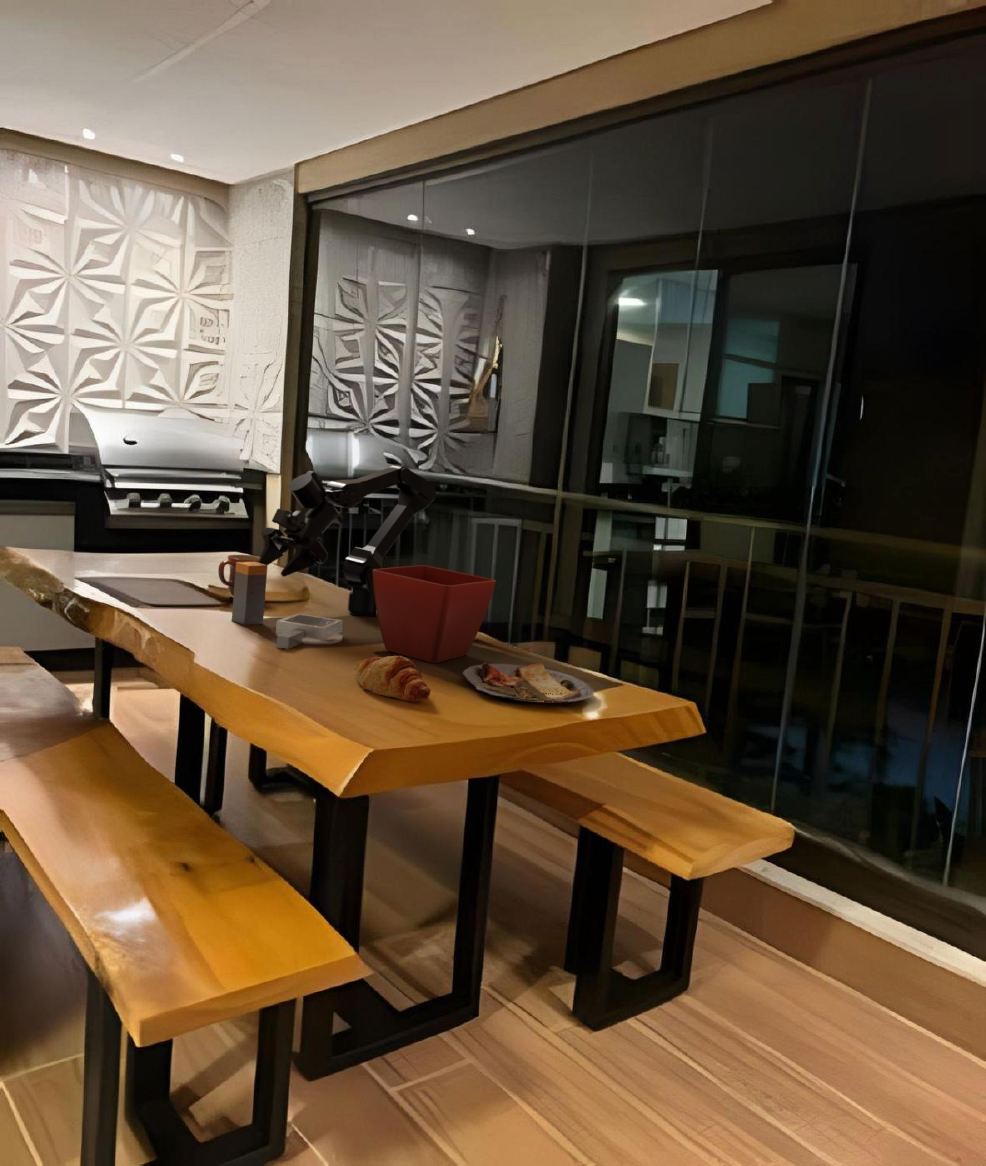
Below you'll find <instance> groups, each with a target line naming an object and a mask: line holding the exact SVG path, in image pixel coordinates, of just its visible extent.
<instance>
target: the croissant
mask: <svg viewBox="0 0 986 1166" xmlns="http://www.w3.org/2000/svg"><path fill="white" fill-rule="evenodd" d="M354 671H355V679H356V680H357V683H358V684H359V685H360V686H361V688H362V689H363V690H367V691H368V690H370V691H369V692H371V693H373V694H375V693H376V694H375V695H378V694H379V696H381V695H383V696H385V697H389V698H391V697H392V698H395V699H397V698H398V700H402V701H408V702H420V701H423V700H425V699H428V698H429V697H430V694H431V691H432V690H431V688H430V687H429V686H428V684H427V683H426V682H425V681H424V680H423V675H422V673H421V671H420V670H417V666H416V664H415V663H414V662H413V661H412V660H410V659H409V658H407V657H404V656H403V655H393V656H391V655H390V656H389V655H388V656H385V657H379V656H373V657H369V658H368V657H367V658H365V659H362V660H360V661H359V662H357V663H356V665H355V667H354Z"/></svg>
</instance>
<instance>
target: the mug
mask: <svg viewBox="0 0 986 1166" xmlns="http://www.w3.org/2000/svg"><path fill="white" fill-rule="evenodd" d="M260 557H261V556H258V555H250V554H230V555H227V560H222V561H221V562H220V563H219V565H218V578H219V580H220V582H221V583H222V584H223V585H225V586H227V589H229V590H230V592H231V594H232V595H233V596H234V584H235V571H236V562H257V563H258V561H259V559H260ZM227 565H229V576H228V581H227V580H226V577H225V567H226V566H227Z"/></svg>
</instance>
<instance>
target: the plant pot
mask: <svg viewBox="0 0 986 1166" xmlns="http://www.w3.org/2000/svg"><path fill="white" fill-rule="evenodd" d="M496 582H497V580H495V579H493V578H488V577H485V576H484V577H483V576H479V575H474V574H469V573H464V572H459V571H454V570H450V569H445V568H440V567H436V566H430V565H421V564H420V565H411V566H410V565H408V566H398V567H397V566H396V567H385V568H384V567H382V569H373V584H374V595H375V604H376V610H377V611H376V613H377V616H376V617H377V621H378V625H379V626H378V627H379V630H380V633H381V639H382V642H383V645H384V649H385V651H388V652H391V653H395V654H400V655H401V656H406V657H410V658H413V659H418V660H420V661H424V662H428V663H435V664H436V663H441V662H444V661H449V660H452V659H451V658H454V659H458V658H461V656H462V657H465V656H464V655H466V656H467V655H468V653H469V651H470V649H471V647H472V645H473V643H474V641H475V639H476V637H477V635H478V632H479V630H480V628H481V626H482V624H483V621H484V619H485V616H486V613H487V611H488V608H489V605H490V603H491V601H492V597H493V594H494V591H495V586H496ZM457 657H458V658H457ZM448 659H449V660H448Z"/></svg>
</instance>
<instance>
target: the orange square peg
mask: <svg viewBox="0 0 986 1166" xmlns="http://www.w3.org/2000/svg"><path fill="white" fill-rule="evenodd" d="M268 566H269V565H264V564H261V563H257V562H236V571H235V584H234V597H233V599H232V611H231V621H232V622H235V623H237V624H240V625H243V626H250V625H252V624H253V625H263V624H264V615H265V601H266V589H267V577H268V576H267V574H268ZM253 625H252V626H253Z"/></svg>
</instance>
